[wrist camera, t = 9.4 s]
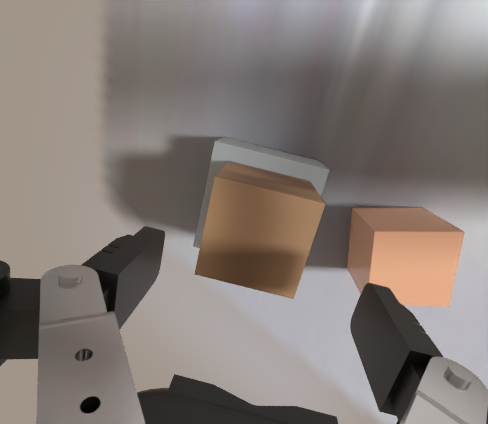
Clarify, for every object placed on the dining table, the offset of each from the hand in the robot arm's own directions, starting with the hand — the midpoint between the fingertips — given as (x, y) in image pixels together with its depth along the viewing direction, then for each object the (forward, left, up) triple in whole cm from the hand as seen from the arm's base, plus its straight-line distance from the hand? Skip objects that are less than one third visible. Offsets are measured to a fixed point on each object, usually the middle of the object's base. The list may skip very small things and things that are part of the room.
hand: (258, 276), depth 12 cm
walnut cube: (0, 0, -8) cm, 8 cm away
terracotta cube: (-10, +1, -12) cm, 15 cm away
